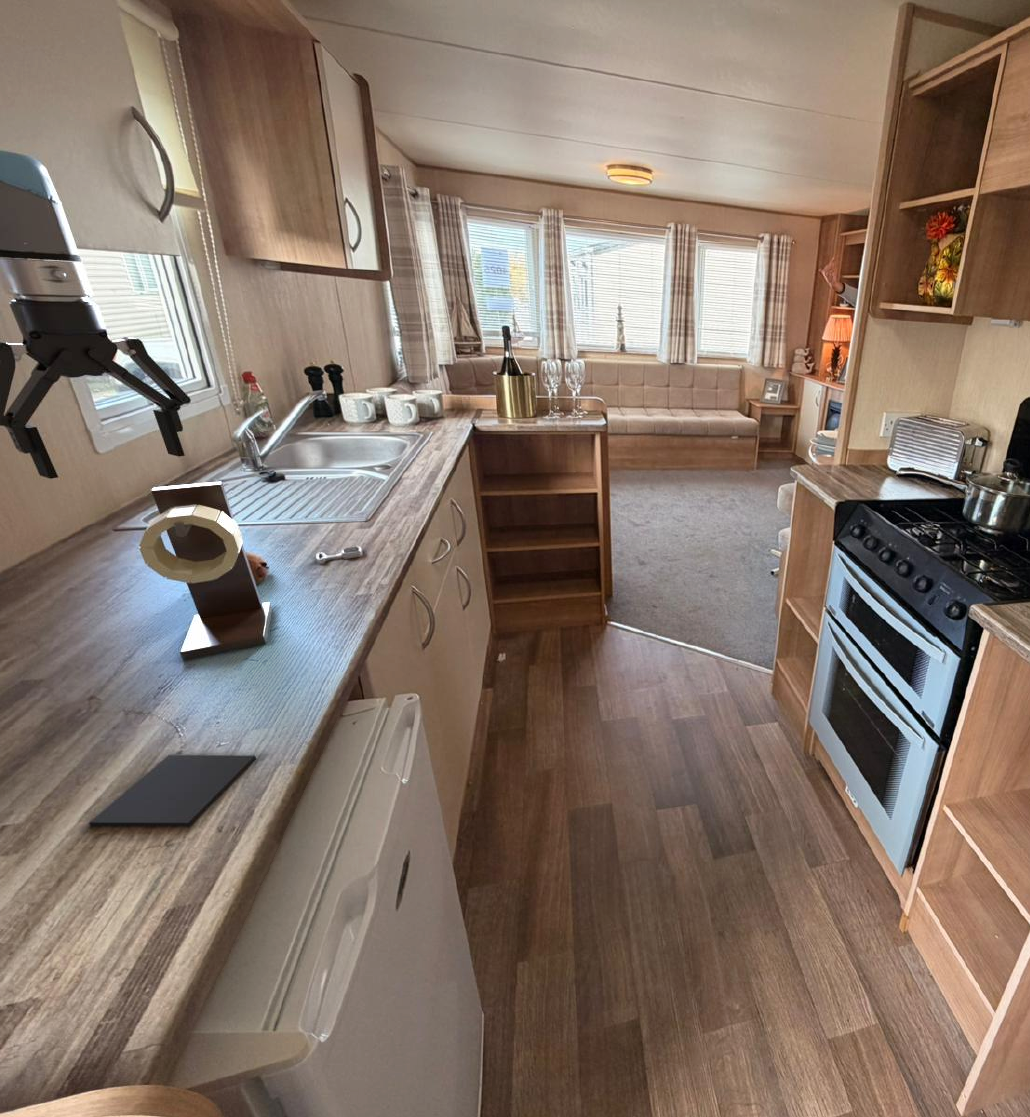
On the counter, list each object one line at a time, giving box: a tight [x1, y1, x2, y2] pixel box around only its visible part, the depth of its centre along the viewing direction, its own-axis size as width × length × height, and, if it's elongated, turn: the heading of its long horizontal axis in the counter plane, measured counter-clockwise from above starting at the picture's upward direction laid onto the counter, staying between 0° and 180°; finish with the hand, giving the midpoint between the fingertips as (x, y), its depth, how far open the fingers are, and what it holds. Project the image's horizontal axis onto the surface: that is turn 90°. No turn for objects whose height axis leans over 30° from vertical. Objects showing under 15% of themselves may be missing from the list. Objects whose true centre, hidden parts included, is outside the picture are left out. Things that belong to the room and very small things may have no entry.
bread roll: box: [245, 551, 270, 586], centre depth 111 cm, size 10×10×8 cm
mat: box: [88, 754, 257, 828], centre depth 67 cm, size 10×10×1 cm
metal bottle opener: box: [315, 545, 363, 565], centre depth 123 cm, size 4×8×1 cm, turn 125°
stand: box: [150, 481, 273, 662], centre depth 91 cm, size 13×10×24 cm
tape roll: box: [138, 504, 244, 584], centre depth 87 cm, size 5×10×10 cm, turn 122°
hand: (117, 465), depth 82 cm, fingers open, 13 cm apart
